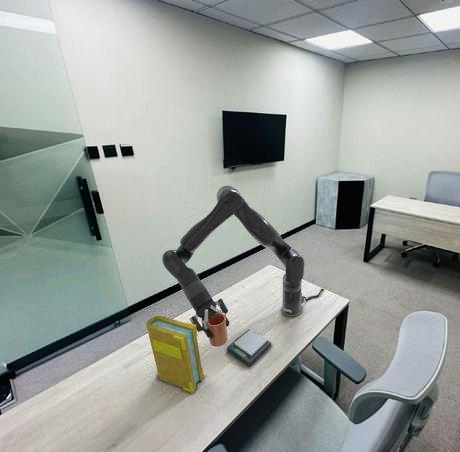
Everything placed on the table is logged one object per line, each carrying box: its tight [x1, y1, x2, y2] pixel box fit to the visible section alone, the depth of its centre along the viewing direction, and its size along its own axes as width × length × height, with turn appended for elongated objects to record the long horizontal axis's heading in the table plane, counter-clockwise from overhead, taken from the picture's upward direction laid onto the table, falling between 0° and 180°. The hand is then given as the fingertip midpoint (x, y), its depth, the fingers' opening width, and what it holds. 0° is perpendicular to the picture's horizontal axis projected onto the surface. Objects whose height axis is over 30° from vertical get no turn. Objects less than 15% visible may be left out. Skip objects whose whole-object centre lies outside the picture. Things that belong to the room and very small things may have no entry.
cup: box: [207, 313, 229, 348], centre depth 101 cm, size 7×7×10 cm
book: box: [145, 315, 205, 394], centre depth 95 cm, size 17×7×25 cm, turn 71°
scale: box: [226, 328, 272, 367], centre depth 112 cm, size 13×13×3 cm
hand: (220, 331), depth 100 cm, fingers closed on cup, 7 cm apart
